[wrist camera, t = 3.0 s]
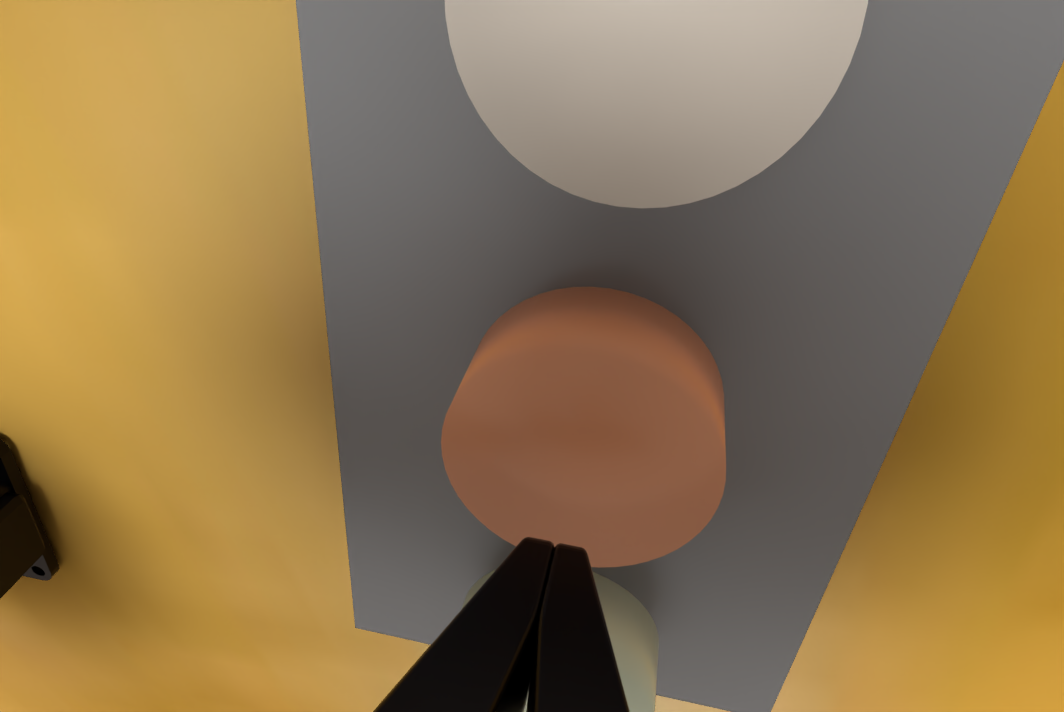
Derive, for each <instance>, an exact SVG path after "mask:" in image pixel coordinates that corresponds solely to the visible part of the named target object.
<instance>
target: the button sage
mask: <svg viewBox="0 0 1064 712" xmlns="http://www.w3.org/2000/svg"><path fill="white" fill-rule="evenodd" d="M494 571H495V570H494ZM494 571H492V572H490V573H488V574H486V575H484V576H483V577H482V578H481V579H479V580H478V581H477V582H476V583H475V584H474V585H473V586H472V587H471V589H470V590H469V592H468V594H467V595H466V598H465V601H464V604H463V607H464V606H465V605H466V604H467V603H468V601H469V600H470V599H471V598H472V597H473V596H474V594H475V593H476V592H477V591H478V590H479V589H480V588H481V586H482V585H483V584H484V583H485V582H486V581H487V579H488V578H489V577H490V576H491V575H492V574H493V573H494ZM593 576H594V580H595V583H596V587H597V591H598V595H599V598H600V602H601V606H602V610H603V613H604V617H605V621H606V625H607V628H608V632H609V636H610V640H611V643H612V647H613V651H614V655H615V658H616V662H617V666H618V670H619V673H620V677H621V681H622V685H623V688H624V692H625V696H626V700H627V703H628V707H629V711H630V712H655V696H656V681H657V665H658V650H659V637H658V632H657V628H656V625H655V623H654V621H653V619H652V617H651V615H650V614H649V612H648V611H647V609H646V608H645V607H644V606H643V605H642V604H641V602H640V601H639V600H638V599H637V598H635V597H634V596H633V595H632V594H631V593H630V592H628V591H627V590H626V589H624V588H623V587H621V586H620V585H618V584H617V583H615V582H613V581H611V580H610V579H608V578H605V577H603V576H601V575H599V574H597V573H594V572H593ZM463 607H462V608H463ZM528 693H529V692H528ZM527 701H528V697H527ZM527 701H526V706H525V709H524V712H526V709H527Z"/></svg>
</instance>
